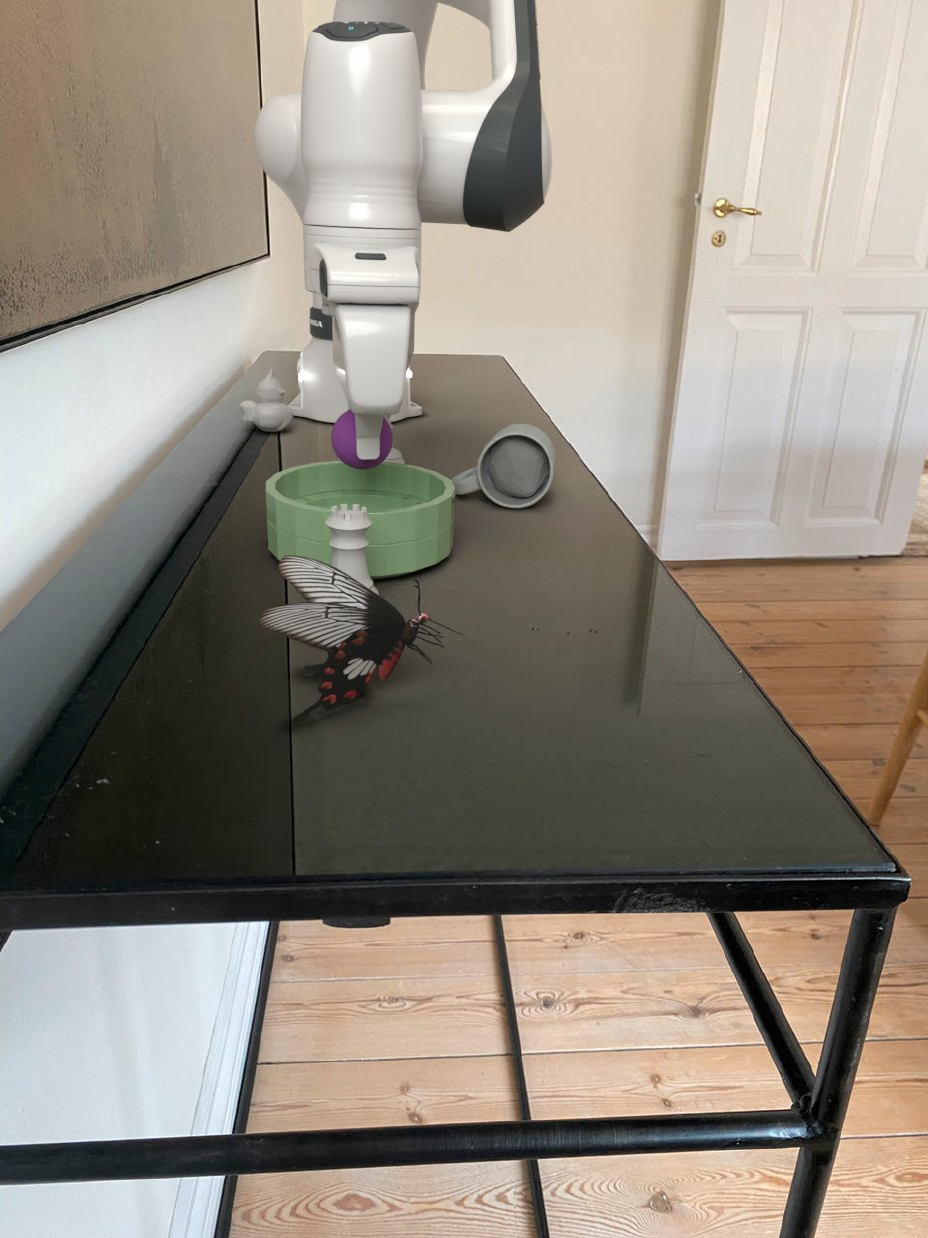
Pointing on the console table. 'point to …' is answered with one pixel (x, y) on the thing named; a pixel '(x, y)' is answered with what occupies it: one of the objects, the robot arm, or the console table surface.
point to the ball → (347, 447)
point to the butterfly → (342, 629)
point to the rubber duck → (268, 407)
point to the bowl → (396, 504)
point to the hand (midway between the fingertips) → (363, 448)
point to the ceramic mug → (512, 467)
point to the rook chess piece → (350, 542)
